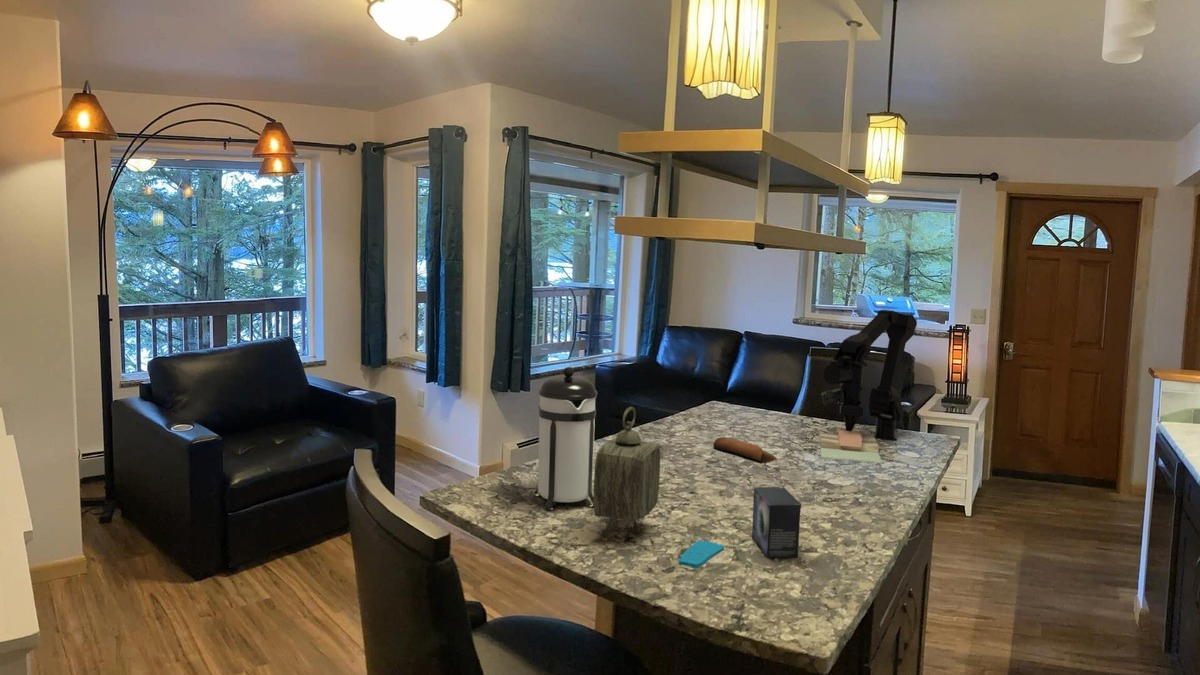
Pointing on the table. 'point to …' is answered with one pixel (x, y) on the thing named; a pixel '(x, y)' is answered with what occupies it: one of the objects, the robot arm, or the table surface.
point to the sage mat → (850, 455)
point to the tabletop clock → (626, 477)
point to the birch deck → (833, 443)
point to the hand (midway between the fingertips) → (848, 433)
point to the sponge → (700, 553)
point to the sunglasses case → (743, 449)
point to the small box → (776, 522)
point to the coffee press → (566, 439)
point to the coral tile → (849, 438)
